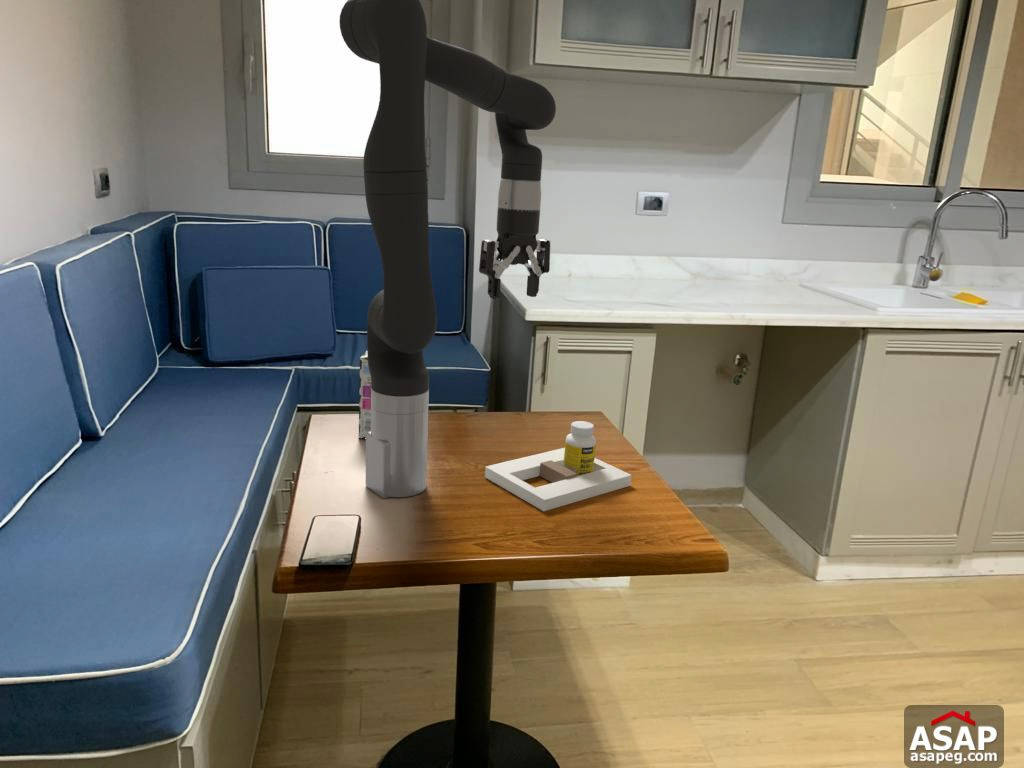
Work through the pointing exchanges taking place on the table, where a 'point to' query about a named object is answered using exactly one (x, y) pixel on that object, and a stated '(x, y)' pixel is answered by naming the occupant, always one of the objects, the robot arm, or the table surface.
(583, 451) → the supplement bottle
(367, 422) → the candy bar box
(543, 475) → the white frame
